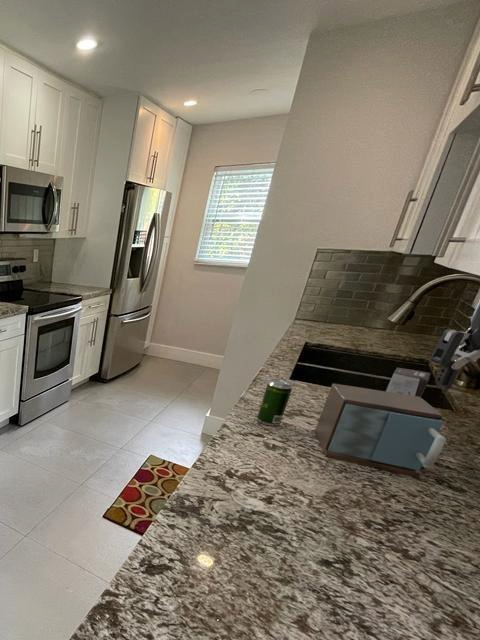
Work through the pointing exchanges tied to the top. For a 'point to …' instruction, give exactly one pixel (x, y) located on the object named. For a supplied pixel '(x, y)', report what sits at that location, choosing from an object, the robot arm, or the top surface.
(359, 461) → the display cabinet
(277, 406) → the beer can
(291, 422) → the top surface
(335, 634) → the top surface
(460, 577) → the top surface
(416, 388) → the coffee box
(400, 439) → the glass door
